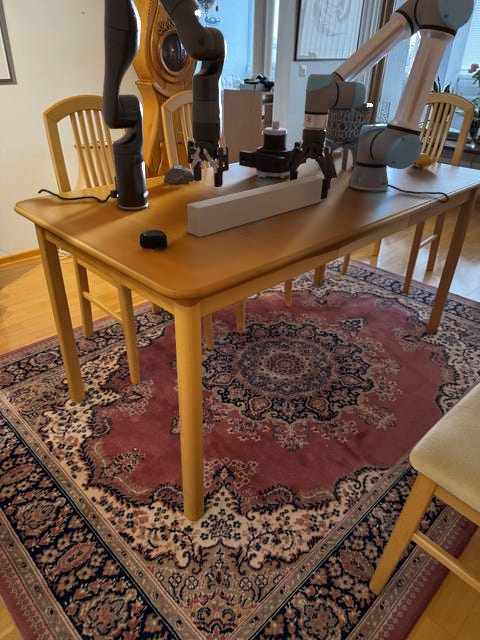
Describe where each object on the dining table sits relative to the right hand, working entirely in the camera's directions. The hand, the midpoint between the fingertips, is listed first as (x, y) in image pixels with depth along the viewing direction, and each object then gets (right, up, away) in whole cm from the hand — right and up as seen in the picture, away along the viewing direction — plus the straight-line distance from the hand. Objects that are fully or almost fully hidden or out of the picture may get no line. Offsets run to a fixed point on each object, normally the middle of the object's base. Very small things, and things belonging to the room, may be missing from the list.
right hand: (308, 194), depth 157 cm
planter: (+24, +28, +54) cm, 65 cm away
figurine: (+31, +48, +89) cm, 105 cm away
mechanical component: (-6, +20, +40) cm, 45 cm away
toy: (+62, +30, +59) cm, 91 cm away
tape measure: (-46, -25, -39) cm, 65 cm away
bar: (-16, -10, -12) cm, 23 cm away
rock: (-47, +11, +22) cm, 52 cm away
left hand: (-32, -6, -33) cm, 46 cm away
